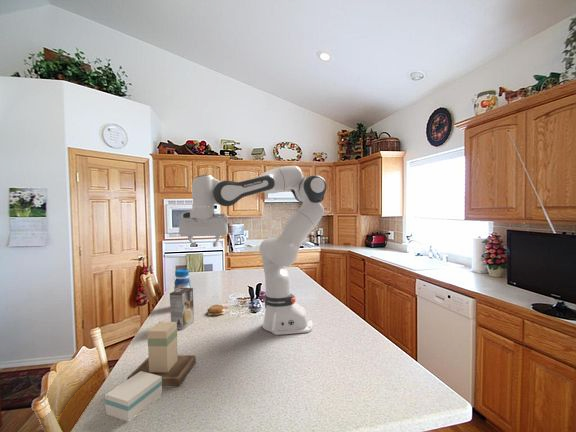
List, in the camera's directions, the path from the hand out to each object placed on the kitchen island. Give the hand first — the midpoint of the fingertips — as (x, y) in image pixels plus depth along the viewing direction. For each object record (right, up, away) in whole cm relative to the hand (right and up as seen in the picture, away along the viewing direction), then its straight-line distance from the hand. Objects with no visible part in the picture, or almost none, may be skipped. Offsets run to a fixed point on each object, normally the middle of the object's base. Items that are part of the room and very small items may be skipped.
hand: (204, 246), depth 118 cm
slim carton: (-5, -36, -27) cm, 45 cm away
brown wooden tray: (-5, -38, -27) cm, 47 cm away
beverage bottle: (-22, -37, +34) cm, 54 cm away
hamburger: (0, -37, +26) cm, 45 cm away
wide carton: (-7, -39, -41) cm, 57 cm away
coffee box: (-13, -37, +10) cm, 41 cm away
